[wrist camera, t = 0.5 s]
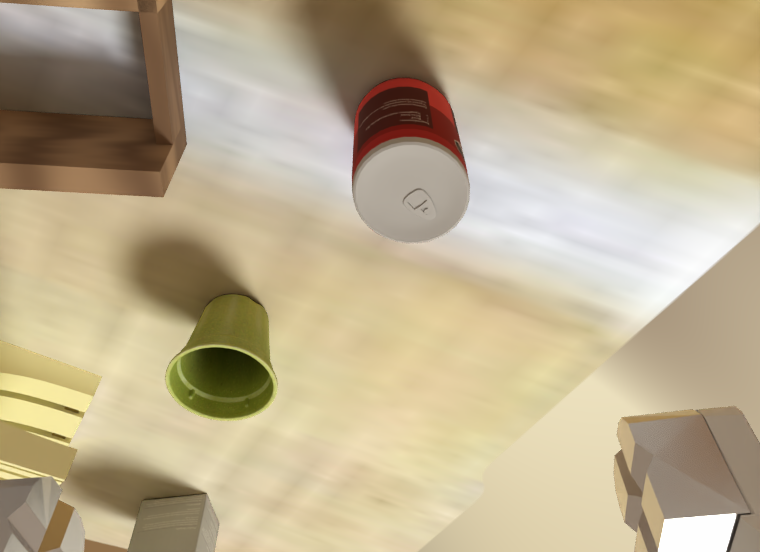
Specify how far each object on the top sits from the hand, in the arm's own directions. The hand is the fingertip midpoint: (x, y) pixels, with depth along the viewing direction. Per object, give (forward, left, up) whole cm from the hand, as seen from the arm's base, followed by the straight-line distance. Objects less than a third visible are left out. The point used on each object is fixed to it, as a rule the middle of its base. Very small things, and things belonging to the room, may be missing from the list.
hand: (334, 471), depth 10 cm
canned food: (+15, +4, -44) cm, 47 cm away
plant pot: (+36, -10, -44) cm, 58 cm away
